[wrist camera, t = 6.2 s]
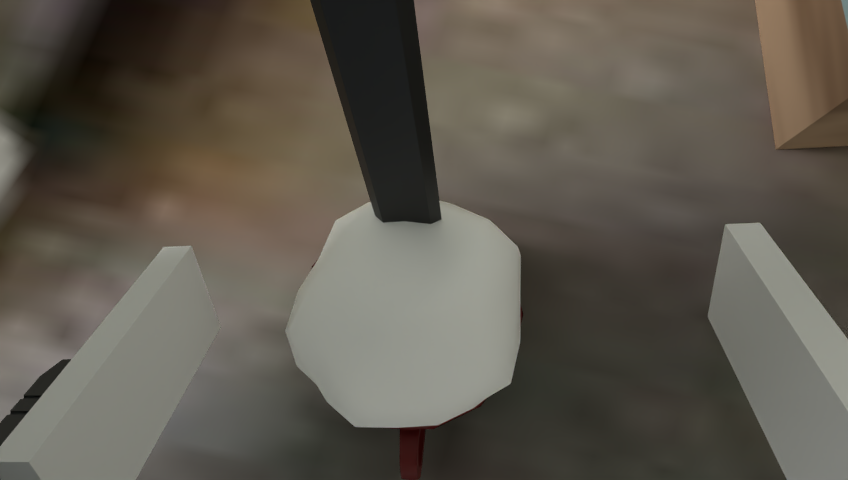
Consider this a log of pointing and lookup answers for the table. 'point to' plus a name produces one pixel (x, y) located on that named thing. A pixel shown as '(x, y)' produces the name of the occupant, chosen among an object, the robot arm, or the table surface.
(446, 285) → the cocoa
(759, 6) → the tower base
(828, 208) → the table surface
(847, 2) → the tower top
